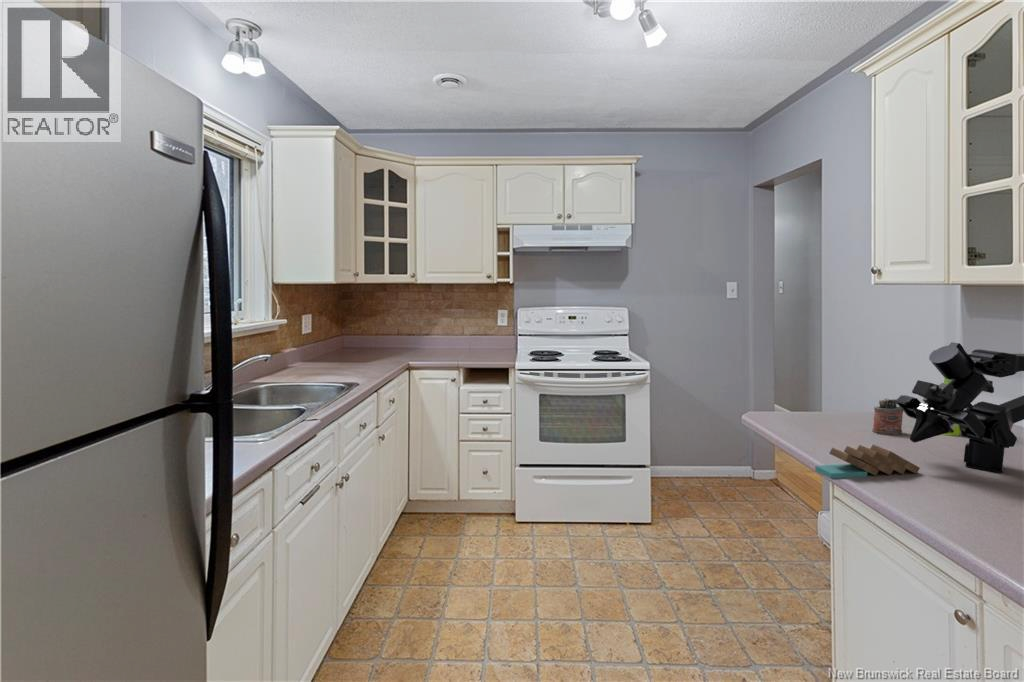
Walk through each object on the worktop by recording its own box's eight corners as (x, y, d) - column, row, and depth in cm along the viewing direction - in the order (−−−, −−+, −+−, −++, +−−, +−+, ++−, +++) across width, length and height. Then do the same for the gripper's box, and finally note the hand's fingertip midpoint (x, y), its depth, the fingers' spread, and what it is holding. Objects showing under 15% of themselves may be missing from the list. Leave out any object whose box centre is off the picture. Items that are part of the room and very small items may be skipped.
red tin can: (877, 434, 153) (880, 400, 151) (869, 431, 156) (871, 397, 155) (905, 434, 153) (908, 400, 152) (896, 431, 156) (899, 397, 155)
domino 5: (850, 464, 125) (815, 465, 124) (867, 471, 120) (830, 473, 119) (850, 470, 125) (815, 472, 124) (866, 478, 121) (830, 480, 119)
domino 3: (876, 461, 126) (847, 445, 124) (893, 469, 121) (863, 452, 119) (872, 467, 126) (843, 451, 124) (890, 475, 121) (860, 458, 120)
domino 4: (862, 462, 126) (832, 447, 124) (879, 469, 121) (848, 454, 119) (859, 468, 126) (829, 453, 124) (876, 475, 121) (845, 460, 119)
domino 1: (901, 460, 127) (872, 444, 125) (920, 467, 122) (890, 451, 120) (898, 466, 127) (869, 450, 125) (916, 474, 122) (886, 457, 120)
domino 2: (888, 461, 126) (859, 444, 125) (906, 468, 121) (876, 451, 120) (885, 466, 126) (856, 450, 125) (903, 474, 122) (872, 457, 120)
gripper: (905, 362, 131) (860, 407, 131) (978, 376, 113) (926, 429, 113) (931, 393, 133) (887, 437, 133) (1008, 411, 115) (957, 463, 115)
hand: (911, 440), depth 124 cm, fingers closed
